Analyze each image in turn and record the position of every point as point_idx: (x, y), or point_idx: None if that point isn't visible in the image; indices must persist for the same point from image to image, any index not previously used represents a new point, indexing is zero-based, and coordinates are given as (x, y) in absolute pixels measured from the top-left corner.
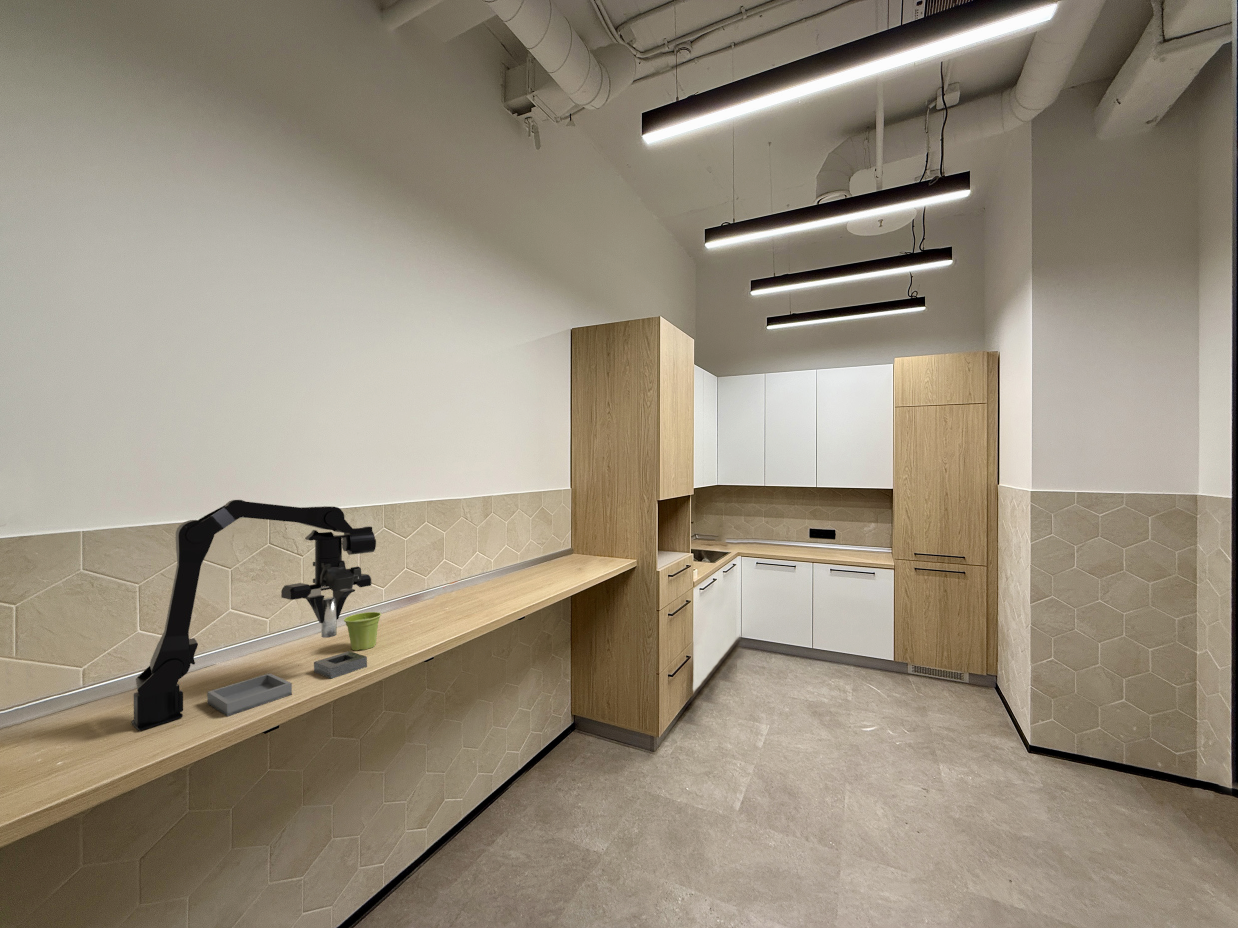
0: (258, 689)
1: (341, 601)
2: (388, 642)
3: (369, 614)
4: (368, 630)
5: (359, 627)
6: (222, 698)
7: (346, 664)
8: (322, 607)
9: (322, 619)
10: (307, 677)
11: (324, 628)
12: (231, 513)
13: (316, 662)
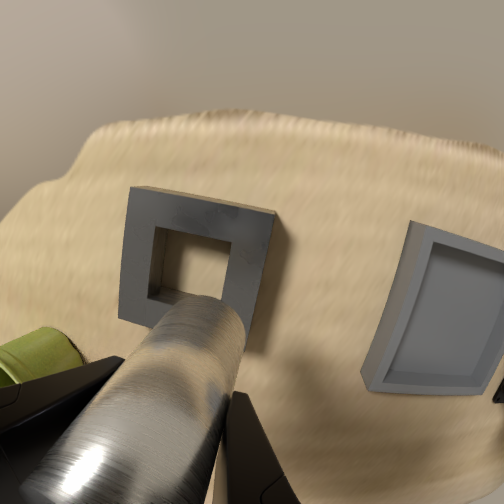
0: (415, 344)
1: (3, 411)
2: (14, 312)
3: None
4: (22, 349)
5: (33, 376)
6: None
7: (211, 200)
8: (233, 488)
9: (238, 403)
10: (290, 311)
11: (235, 354)
12: None
13: (246, 335)
